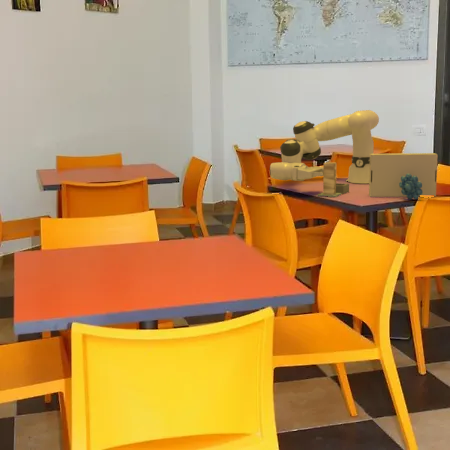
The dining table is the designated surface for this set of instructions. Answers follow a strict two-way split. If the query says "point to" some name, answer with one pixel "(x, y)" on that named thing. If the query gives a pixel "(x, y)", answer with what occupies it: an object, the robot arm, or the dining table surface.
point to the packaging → (401, 173)
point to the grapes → (410, 186)
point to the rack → (342, 188)
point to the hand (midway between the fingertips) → (326, 173)
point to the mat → (330, 195)
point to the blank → (329, 178)
